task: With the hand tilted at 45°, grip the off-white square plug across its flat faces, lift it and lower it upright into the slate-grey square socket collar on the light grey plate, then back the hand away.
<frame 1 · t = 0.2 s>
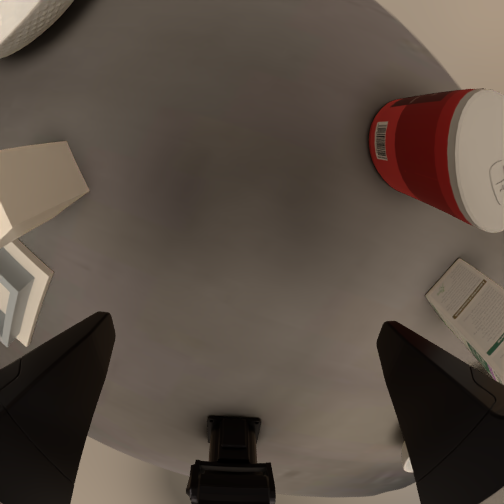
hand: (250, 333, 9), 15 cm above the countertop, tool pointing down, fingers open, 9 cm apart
canned food: (404, 145, 21), on the countertop
syrup box: (450, 288, 26), on the countertop
socket: (1, 276, 24), on the countertop
plug: (58, 180, 20), on the countertop
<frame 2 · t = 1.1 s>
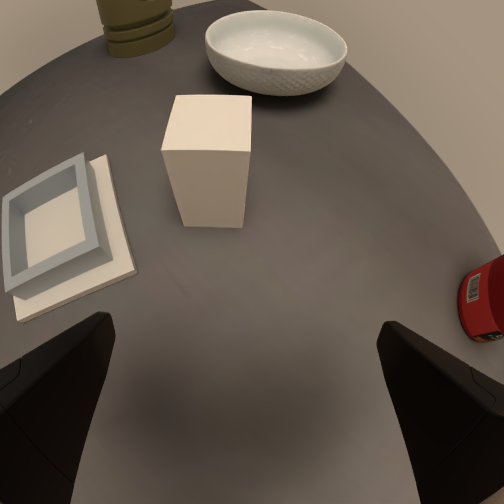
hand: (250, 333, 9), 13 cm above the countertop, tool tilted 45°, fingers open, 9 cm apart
piston: (141, 42, 36), on the countertop
canned food: (477, 307, 24), on the countertop
cereal bowl: (271, 77, 33), on the countertop
socket: (61, 236, 23), on the countertop
plug: (215, 201, 25), on the countertop
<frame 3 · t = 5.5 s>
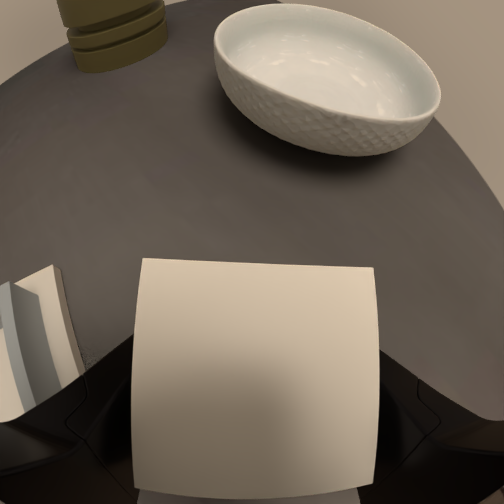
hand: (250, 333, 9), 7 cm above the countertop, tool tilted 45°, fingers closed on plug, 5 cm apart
piston: (121, 48, 25), on the countertop
cereal bowl: (314, 110, 22), on the countertop
socket: (14, 392, 12), on the countertop
plug: (240, 371, 14), on the countertop, touching gripper
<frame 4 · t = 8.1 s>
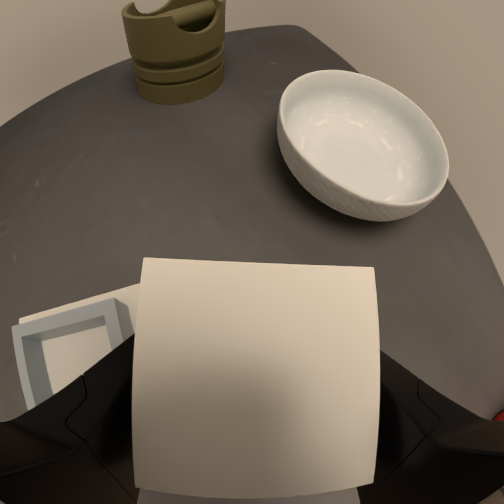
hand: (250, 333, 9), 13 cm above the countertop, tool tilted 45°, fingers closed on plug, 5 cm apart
piston: (180, 79, 32), on the countertop
cereal bowl: (347, 169, 29), on the countertop
socket: (93, 380, 19), on the countertop
plug: (241, 370, 14), point 7 cm above the countertop, touching gripper
when the fingers open (9 cm above the countertop, at t = 10.8 s): plug drops 1 cm, resting on socket.
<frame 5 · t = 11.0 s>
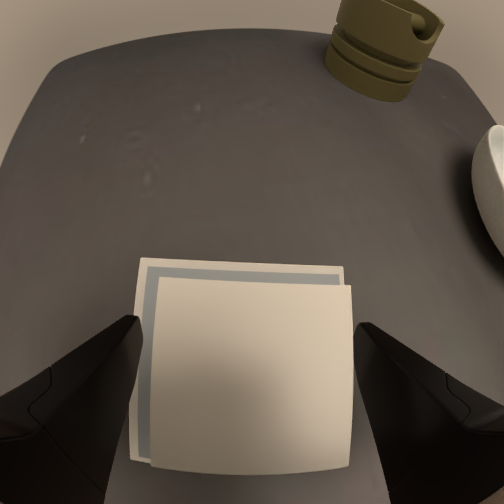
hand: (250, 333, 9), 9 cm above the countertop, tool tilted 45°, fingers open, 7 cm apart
piston: (366, 74, 30), on the countertop
cereal bowl: (500, 222, 23), on the countertop
socket: (239, 369, 17), on the countertop
plug: (240, 369, 16), point 1 cm above the countertop, touching socket
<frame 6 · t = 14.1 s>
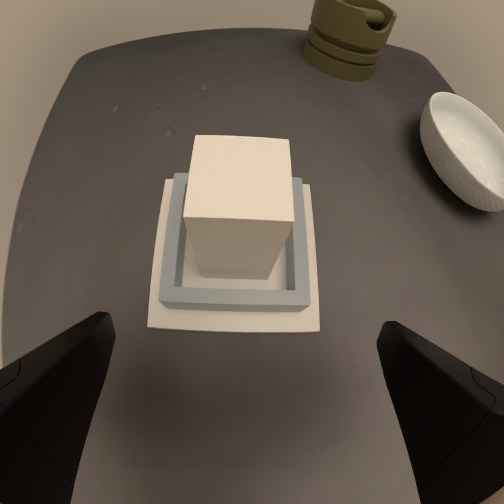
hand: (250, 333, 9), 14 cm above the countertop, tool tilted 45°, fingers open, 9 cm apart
piston: (337, 61, 37), on the countertop
cereal bowl: (454, 171, 31), on the countertop
socket: (235, 252, 24), on the countertop
plug: (235, 248, 23), point 1 cm above the countertop, touching socket
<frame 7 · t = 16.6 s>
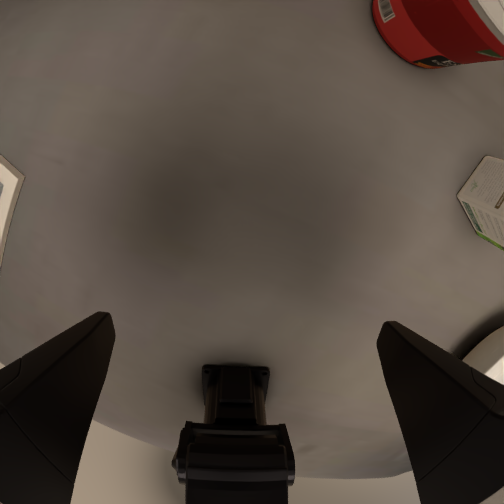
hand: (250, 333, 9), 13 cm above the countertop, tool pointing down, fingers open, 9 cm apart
canned food: (410, 26, 15), on the countertop
syrup box: (481, 194, 21), on the countertop
serving bowl: (477, 361, 31), on the countertop
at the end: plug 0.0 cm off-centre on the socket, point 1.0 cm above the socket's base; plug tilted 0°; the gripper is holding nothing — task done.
